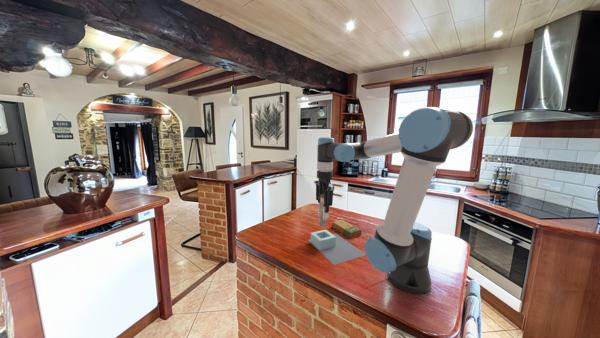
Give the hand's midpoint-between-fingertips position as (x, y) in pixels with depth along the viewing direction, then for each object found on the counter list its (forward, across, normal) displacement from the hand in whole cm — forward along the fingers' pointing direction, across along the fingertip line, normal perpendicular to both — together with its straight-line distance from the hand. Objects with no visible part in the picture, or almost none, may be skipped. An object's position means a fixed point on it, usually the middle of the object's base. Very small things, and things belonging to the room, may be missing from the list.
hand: (323, 216), depth 109 cm
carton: (+16, +6, -20) cm, 26 cm away
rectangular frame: (+15, 0, 0) cm, 15 cm away
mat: (+15, -6, -4) cm, 17 cm away
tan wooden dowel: (+4, 0, 0) cm, 4 cm away
